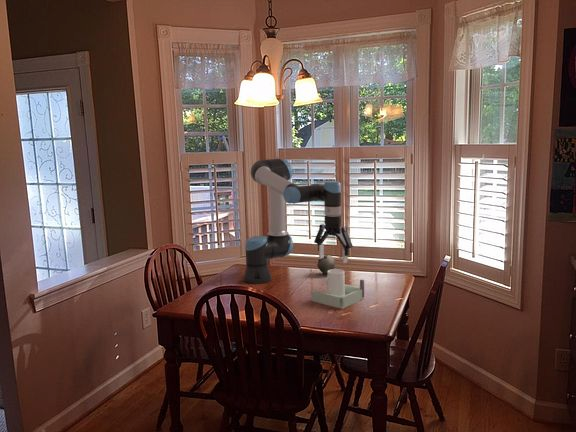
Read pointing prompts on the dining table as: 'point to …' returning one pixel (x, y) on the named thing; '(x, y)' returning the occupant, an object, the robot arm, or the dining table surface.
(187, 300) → the dining table surface
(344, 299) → the tray
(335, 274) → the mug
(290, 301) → the dining table surface
